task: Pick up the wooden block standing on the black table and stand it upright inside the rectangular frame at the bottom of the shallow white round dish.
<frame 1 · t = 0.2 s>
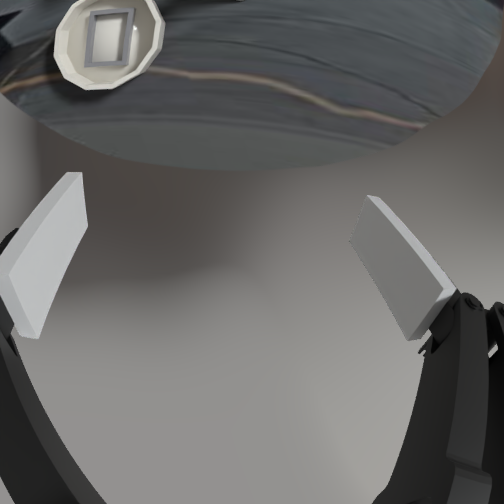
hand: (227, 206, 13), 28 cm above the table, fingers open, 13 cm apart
white round dish: (112, 37, 27), on the table
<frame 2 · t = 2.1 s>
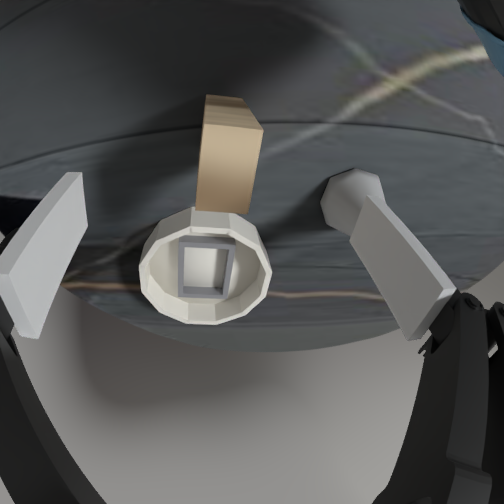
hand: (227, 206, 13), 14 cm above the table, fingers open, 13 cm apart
flask: (350, 197, 31), on the table
white round dish: (204, 260, 33), on the table
wooden block: (220, 123, 24), on the table
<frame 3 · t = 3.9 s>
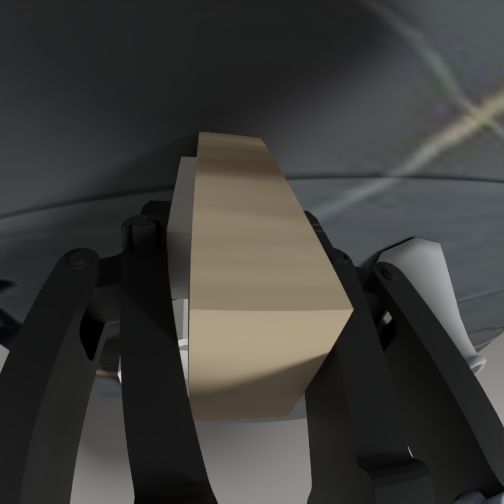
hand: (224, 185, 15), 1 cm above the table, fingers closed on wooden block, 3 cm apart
flask: (401, 271, 22), on the table
white round dish: (204, 352, 24), on the table
wooden block: (223, 180, 15), on the table, touching gripper
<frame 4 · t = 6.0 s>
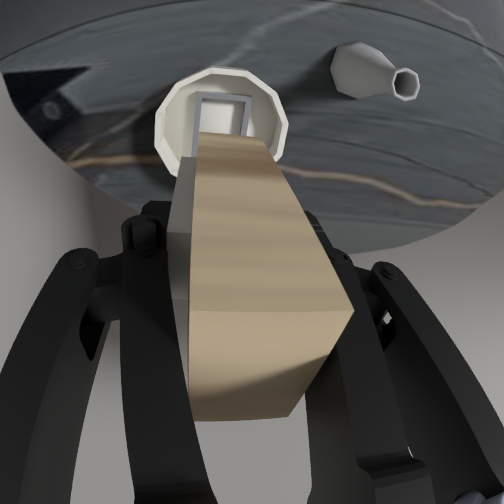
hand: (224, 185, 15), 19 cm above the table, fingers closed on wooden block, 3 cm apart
flask: (357, 69, 28), on the table
white round dish: (220, 124, 31), on the table
wooden block: (223, 180, 15), point 19 cm above the table, touching gripper
when the fingers open (3 cm above the table, at t = 8.2 s): wooden block drops 2 cm, resting on white round dish.
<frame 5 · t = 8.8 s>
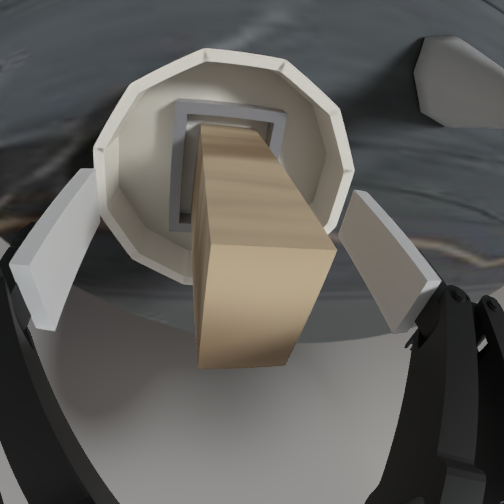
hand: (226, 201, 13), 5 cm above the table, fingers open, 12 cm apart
flask: (447, 79, 15), on the table
white round dish: (221, 162, 17), on the table
wooden block: (221, 167, 17), point 1 cm above the table, touching white round dish
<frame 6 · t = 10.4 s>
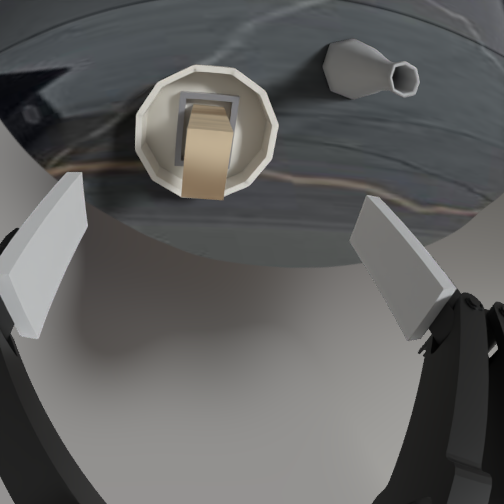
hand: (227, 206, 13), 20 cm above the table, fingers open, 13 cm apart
flask: (351, 68, 27), on the table
white round dish: (205, 127, 29), on the table
wooden block: (205, 128, 28), point 1 cm above the table, touching white round dish
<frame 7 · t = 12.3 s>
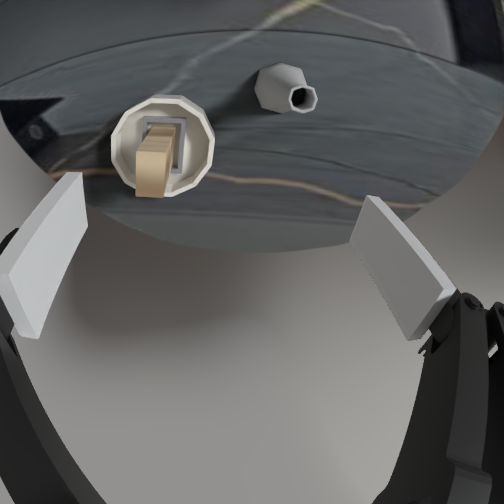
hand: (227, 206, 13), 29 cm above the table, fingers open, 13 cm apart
flask: (280, 87, 36), on the table
white round dish: (164, 141, 38), on the table
wooden block: (163, 143, 37), point 1 cm above the table, touching white round dish
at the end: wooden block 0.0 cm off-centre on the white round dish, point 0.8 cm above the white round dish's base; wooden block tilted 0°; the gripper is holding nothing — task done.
